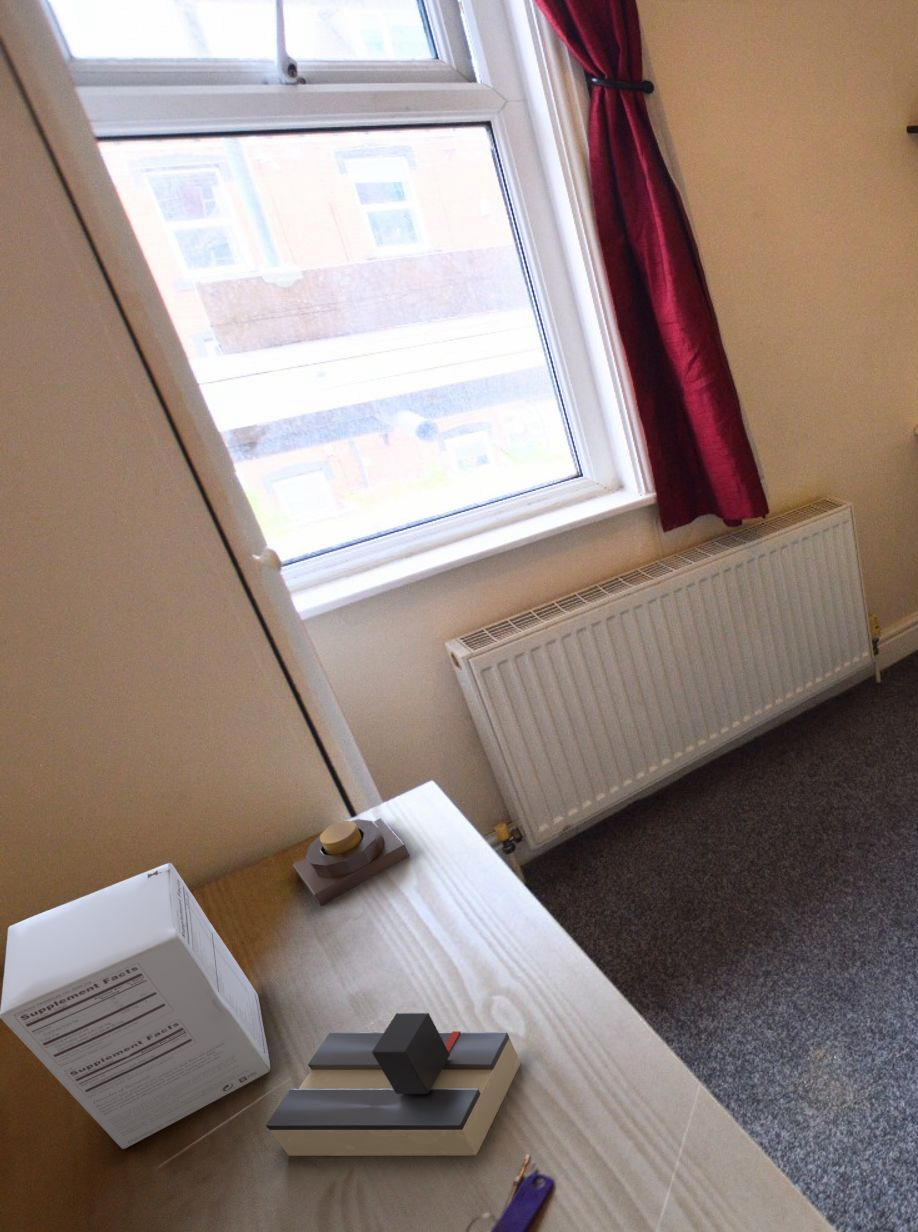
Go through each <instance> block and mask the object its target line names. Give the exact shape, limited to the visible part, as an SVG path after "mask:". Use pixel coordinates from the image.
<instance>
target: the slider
mask: <svg viewBox="0 0 918 1232" xmlns="http://www.w3.org/2000/svg"><path fill="white" fill-rule="evenodd" d="M372 1054H373V1055H374V1057H375V1059H376V1060H377V1062H378V1064H379V1065H380V1067H381V1069H382V1070H383V1072H384V1074H385V1076H386V1077H387V1079H388V1081H389V1082H390V1084H391V1086H392V1087H393V1089H394V1091H395V1092H396V1094H428V1093H429V1092H430V1090H431V1088H432V1086H433V1084H434V1083H435V1081H436V1079H437V1077H438V1076H439V1074H440V1072H441V1070H442V1068H443V1067H444V1065H445V1063H446V1061H447V1059H448V1058H449V1056H450V1054H449V1052H448V1050H447V1048H446V1046H445V1044H444V1042H443V1040H442V1038H441V1036H440V1034H439V1030H438V1028H437V1027H436V1025H435V1022H434V1021H433V1019H432V1017H431V1015H430V1013H429V1012H396V1013H395V1014H394V1016H393V1018H392V1019H391V1020H390V1022H389V1024H388V1026H387V1027H386V1029H385V1030H384V1033H383V1035H382V1037H381V1038H380V1040H379V1041H378V1043H377V1044H376V1046H375V1047H374V1049H373V1051H372Z"/></svg>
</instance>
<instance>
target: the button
mask: <svg viewBox="0 0 918 1232" xmlns="http://www.w3.org/2000/svg"><path fill="white" fill-rule="evenodd" d="M352 821H353V820H343V821H339V822H335V823H333V824H331V825H330V826H328V827H327V828H325V829H324V830H323V831H322V832H321V833H320V835H319V836H320V842H321V843H322V845H323V847H324V849H325V851H326V853H327V854H328V855H331V856H334V855H338V854H342V853H345V852H347V851H349V850H351V849H353V848H355V847H356V846H357V845H358V844H359V843H360V842H361V840H362V836H361V834H360V832H359V830H358V828H357V826H356V824H355V823H354V822H352Z"/></svg>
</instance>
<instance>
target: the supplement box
mask: <svg viewBox="0 0 918 1232" xmlns="http://www.w3.org/2000/svg"><path fill="white" fill-rule="evenodd" d="M6 938H7V939H6V946H5V959H4V968H3V970H4V971H3V980H2V991H1V1001H0V1019H1V1020H2V1021H3V1023H4V1024H5V1025H6V1026H7V1028H9V1029H10V1030H11V1031H12V1032H13V1034H15V1035H16V1036H17V1037H18V1038H19V1040H20V1041H21V1042H22V1043H23V1044H24V1045H25V1046H26V1047H27V1048H28V1049H29V1051H31V1052H32V1053H33V1054H34V1055H35V1057H36V1058H37V1059H38V1060H39V1061H40V1062H41V1063H42V1064H43V1065H44V1066H45V1068H46V1069H47V1070H48V1071H49V1072H50V1073H51V1074H52V1076H54V1077H55V1079H57V1080H58V1082H59V1083H60V1084H61V1085H62V1086H63V1087H64V1088H65V1089H66V1090H67V1091H68V1093H70V1095H71V1096H72V1097H73V1098H74V1099H75V1100H76V1101H77V1102H78V1103H79V1104H80V1105H81V1106H82V1108H83V1109H84V1110H85V1111H86V1112H87V1113H88V1114H89V1115H90V1116H91V1117H92V1119H94V1121H96V1123H97V1124H98V1125H99V1126H100V1127H101V1128H102V1129H103V1130H104V1131H105V1132H106V1133H107V1135H108V1136H109V1137H110V1138H111V1140H113V1141H114V1142H115V1143H116V1144H117V1145H118V1146H119V1147H120V1148H121V1149H122V1150H125V1149H127V1148H129V1147H131V1146H133V1145H135V1144H137V1143H138V1142H140V1141H143V1140H145V1139H146V1138H148V1137H150V1136H152V1135H153V1134H156V1133H158V1132H159V1131H161V1130H163V1129H165V1128H167V1127H168V1126H171V1125H172V1124H174V1123H176V1122H178V1121H180V1120H182V1119H184V1118H186V1117H187V1116H189V1115H191V1114H193V1113H195V1112H197V1111H198V1110H201V1109H203V1108H204V1107H206V1106H208V1105H210V1104H212V1103H214V1102H215V1101H217V1100H219V1099H221V1098H224V1097H225V1096H226V1095H229V1094H232V1093H233V1092H234V1091H236V1090H238V1089H240V1088H242V1087H244V1086H246V1085H248V1084H249V1083H251V1082H253V1081H255V1080H257V1079H259V1078H261V1077H263V1076H264V1075H267V1074H268V1073H269V1072H270V1071H271V1063H270V1062H271V1061H270V1056H269V1055H270V1054H269V1049H268V1044H267V1043H268V1042H267V1038H266V1033H265V1028H264V1022H263V1017H262V1011H261V1005H260V1000H259V995H258V992H257V991H256V989H255V988H254V987H253V985H252V983H251V982H250V980H249V979H248V977H247V976H246V974H245V972H244V971H243V970H242V968H241V966H240V965H239V964H238V962H237V960H236V959H235V957H234V956H233V954H232V953H231V951H230V950H229V948H228V947H227V946H226V944H225V942H224V941H223V939H222V938H221V937H220V934H218V932H217V931H216V929H215V927H214V926H213V925H212V923H211V922H210V920H209V919H208V917H207V915H206V914H205V912H204V910H203V909H202V907H201V905H200V904H199V903H198V901H197V900H196V897H195V896H194V895H193V894H192V892H191V890H190V889H189V887H188V886H187V884H186V883H185V882H184V880H183V878H182V877H181V875H180V874H179V872H178V871H177V869H176V868H175V866H174V865H173V863H172V862H170V863H169V862H168V863H165V864H161V865H159V866H157V867H155V868H152V869H149V870H147V871H145V872H142V873H139V874H137V875H134V876H131V877H129V878H127V879H124V880H122V881H119V882H117V883H114V884H111V885H109V886H106V887H104V888H101V889H99V890H96V891H94V892H91V893H89V894H86V895H84V896H81V897H78V898H76V899H74V900H70V901H68V902H66V903H64V904H61V905H58V906H56V907H53V908H50V909H49V910H45V911H43V912H41V913H38V914H35V915H33V916H30V917H28V918H25V919H23V920H21V921H19V922H16V923H13V924H11V925H9V926H8V928H7V936H6Z"/></svg>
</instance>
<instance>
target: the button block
mask: <svg viewBox="0 0 918 1232" xmlns="http://www.w3.org/2000/svg"><path fill="white" fill-rule="evenodd" d="M351 821H352V822H354V823H355V824H356V826H357V828H358V830H359V832H360V834H361V836H362V840H361V842H360V843H359V844H358V845H357V846H356V847H355V848H353V849H351V850H349V851H347V852H345V853H342V854H338V855H334V856H331V855H328V854H327V853H326V851H325V849H324V847H323V845H322V843H321V842H320V835H319V836H318V837H316V838H315V839H314V840H313V841H312V842H311V843H310V844H309V845H308V848H307V851H306V854H305V857H303V858H302V859H300V860H297V861H296V862H293V863H292V867H293V869H294V870H295V872H296V874H297V876H298V877H299V880H301V881H302V883H303V885H304V886H305V887H306V888H307V890H308V891H309V893H310V894H311V895H312V897H313V898H314V899H315V900H316V902H317V903H318V905H319V906H320V907H323V906H324V905H326V904H327V903H329V902H331V901H333V900H334V899H336V898H338V897H340V896H342V895H343V894H345V893H347V892H348V891H351V890H352V889H354V888H356V887H358V886H359V885H361V884H363V883H365V882H367V881H368V880H370V879H372V878H374V877H375V876H377V875H378V874H381V873H383V872H384V871H386V870H387V869H389V868H391V867H393V866H395V865H396V864H398V863H400V862H401V861H404V860H406V859H407V858H410V856H411V855H410V853H409V851H408V848H407V846H406V844H405V843H404V842H403V841H402V840H401V838H400V837H399V836H398V835H397V833H395V832H394V830H393V829H392V828H391V827H390V826H389V825H388V824H387V823H386V822H385V820H384V819H383V818H382V817H379V818H377V819H375V820H369V819H359V818H358V819H354V820H351Z"/></svg>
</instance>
